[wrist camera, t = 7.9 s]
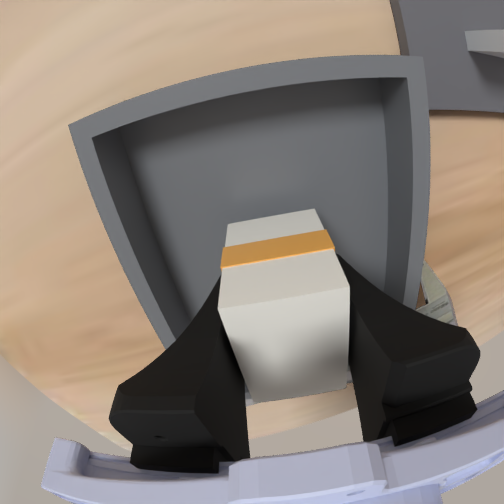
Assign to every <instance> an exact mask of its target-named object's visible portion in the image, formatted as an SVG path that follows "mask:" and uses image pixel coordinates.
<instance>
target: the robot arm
mask: <svg viewBox="0 0 504 504" xmlns="http://www.w3.org/2000/svg"><path fill="white" fill-rule="evenodd" d="M336 256H337V258H338V260H339V263H340V265H341V267H342V270H343V272H344V274H345V276H346V279H347V281H348V283H349V286H350V318H349V349H348V364H349V367H350V372H351V376H352V381H353V385H354V390H355V395H356V400H357V405H358V410H359V416H360V422H361V428H362V434H363V440H364V442H357V443H350V444H344V445H339V446H334V447H329V448H324V449H317V450H311V451H305V452H298V453H291V454H283V455H273V456H263V457H255V458H250V451H249V442H248V430H247V416H246V400H245V380H244V377H243V375H242V372H241V370H240V367H239V365H238V362H237V359H236V357H235V354H234V352H233V349H232V346H231V344H230V341H229V338H228V336H227V333H226V330H225V328H224V325H223V322H222V320H221V317H220V314H219V311H218V301H219V292H220V284H221V275H222V274H221V275H220V277H219V279H218V280H217V282H216V284H215V286H214V287H213V289H212V291H211V292H210V294H209V296H208V297H207V299H206V301H205V302H204V304H203V305H202V307H201V309H200V310H199V312H198V313H197V314H196V316H195V317H194V319H193V320H192V321H191V323H190V324H189V325H188V327H187V328H186V329H185V330H184V332H183V333H182V334H181V335H180V336H179V337H178V338H177V339H176V341H175V342H174V343H173V344H171V345H170V346H169V347H168V348H167V349H166V350H165V351H164V352H163V353H162V354H161V355H160V356H159V357H158V358H156V359H155V360H154V361H153V362H152V363H150V364H149V365H148V366H147V367H145V368H144V369H143V370H141V371H140V372H138V373H137V374H136V375H134V376H132V377H131V378H129V379H128V380H126V381H125V382H123V383H122V384H120V385H119V386H118V388H117V391H116V394H115V397H114V400H113V404H112V408H111V411H110V415H109V421H110V423H111V425H112V426H113V427H114V428H115V429H116V430H117V431H118V432H119V433H120V434H121V435H123V436H124V437H125V438H126V439H127V440H128V441H130V442H131V443H132V444H133V448H132V453H131V458H129V457H122V456H115V455H109V454H103V453H97V452H91V451H90V450H89V449H88V448H87V447H85V446H84V445H82V444H80V443H78V442H76V441H72V440H67V439H63V438H58V437H56V438H55V440H54V443H53V446H52V449H51V452H50V455H49V459H48V462H47V465H46V469H45V472H44V476H43V480H42V484H41V487H42V488H43V489H45V490H47V491H49V492H51V493H53V494H55V495H57V496H59V497H60V498H63V499H65V500H67V501H69V502H71V503H73V504H443V502H442V498H441V494H442V493H444V492H446V491H448V490H451V489H453V488H455V487H457V486H459V485H461V484H463V483H465V482H467V481H469V480H471V479H472V478H474V477H476V476H478V475H480V474H481V473H483V472H485V471H487V470H488V469H490V468H492V467H493V466H495V465H497V464H498V463H500V462H502V461H503V460H504V390H503V391H501V392H499V393H497V394H495V395H493V396H492V397H489V398H487V399H485V400H483V401H481V402H479V403H477V404H475V403H474V400H473V398H472V396H471V394H470V392H471V391H472V386H471V384H470V382H469V379H470V377H471V375H472V373H473V371H474V370H475V368H476V366H477V364H478V361H479V358H480V350H479V348H478V346H477V345H476V343H475V341H474V339H473V338H472V336H471V335H470V333H469V332H468V331H467V329H466V328H462V327H459V326H455V325H452V324H448V323H445V322H442V321H439V320H437V319H434V318H431V317H429V316H426V315H424V314H422V313H419V312H417V311H415V310H413V309H411V308H409V307H407V306H405V305H403V304H402V303H400V302H398V301H397V300H395V299H393V298H392V297H390V296H388V295H387V294H385V293H384V292H382V291H381V290H380V289H378V288H377V287H376V286H374V285H373V284H372V283H370V282H369V281H368V280H367V279H366V278H364V277H363V276H362V275H361V274H360V273H358V272H357V271H356V270H355V269H354V268H353V267H352V266H351V265H350V264H349V263H347V262H346V261H345V260H344V259H343V258H342V257H341V256H340V255H339V254H336Z"/></svg>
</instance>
